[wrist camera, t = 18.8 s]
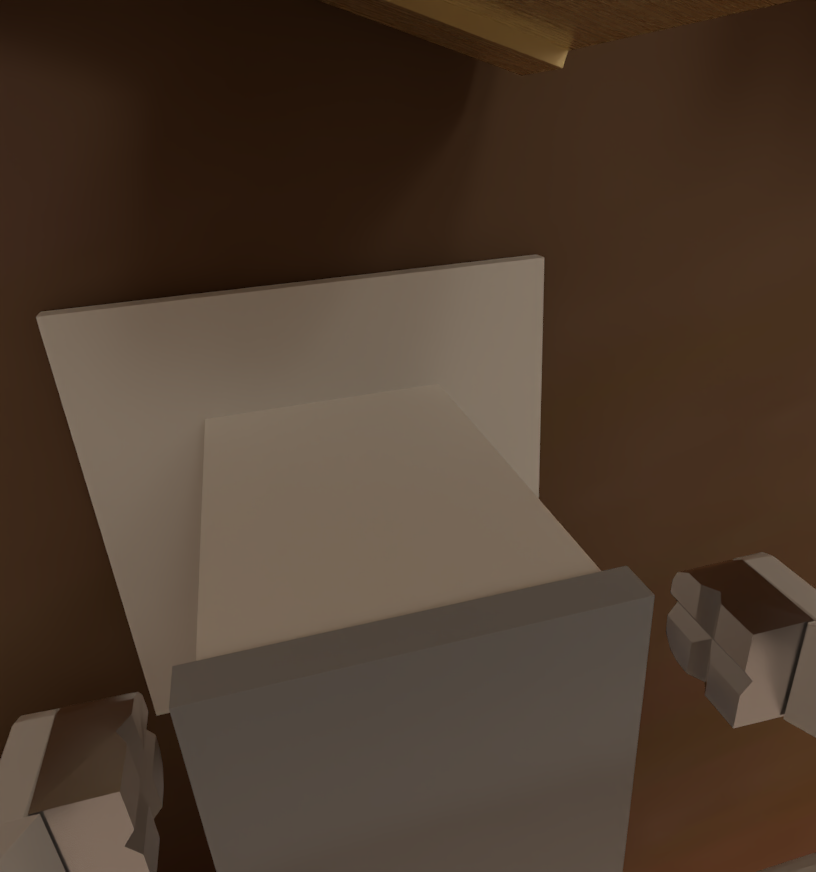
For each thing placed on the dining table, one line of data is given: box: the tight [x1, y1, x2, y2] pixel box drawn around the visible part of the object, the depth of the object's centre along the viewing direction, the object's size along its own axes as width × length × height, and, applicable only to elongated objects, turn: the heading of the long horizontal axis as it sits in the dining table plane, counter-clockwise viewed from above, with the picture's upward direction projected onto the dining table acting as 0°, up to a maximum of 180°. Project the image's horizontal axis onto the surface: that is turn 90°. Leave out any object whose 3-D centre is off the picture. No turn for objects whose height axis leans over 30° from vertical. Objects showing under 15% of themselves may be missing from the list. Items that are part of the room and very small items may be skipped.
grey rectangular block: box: [169, 384, 655, 872], centre depth 12 cm, size 5×5×8 cm
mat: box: [36, 254, 544, 716], centre depth 16 cm, size 10×10×1 cm
